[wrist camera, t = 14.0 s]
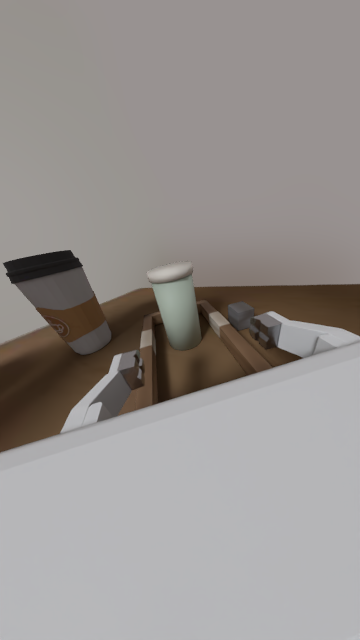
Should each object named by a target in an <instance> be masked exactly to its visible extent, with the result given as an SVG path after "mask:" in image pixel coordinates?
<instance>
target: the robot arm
mask: <svg viewBox="0 0 360 640" xmlns="http://www.w3.org/2000/svg"><path fill="white" fill-rule="evenodd" d="M250 324H251V326H250V328H249V332H250V335H251V337H252V338H253V339H254V340H256V341H259V344H260V345H261V346H262V347H263V348H264V349H265V350H267V349H270V348H274V347H278V348H281V349H283V350H286V351H288V352H291V353H293V354H296V355H298V356H300V357H303V359H300V360H297V361H294V362H290V363H287V364H284V365H281V366H277V367H274V368H271V369H268V370H264V371H261V372H258V373H255V374H252V375H248V376H245V377H242V378H239V379H235V380H232V381H229V382H226V383H222V384H219V385H216V386H213V387H210V388H206V389H203V390H200V391H197V392H193V393H190V394H187V395H184V396H181V397H177V398H174V399H171V400H168V401H164V402H161V403H158V404H155V405H152V406H148V407H145V408H142V409H139V410H135V411H132V412H129V413H126V414H123V415H119V416H117V415H118V414H119V412H120V410H121V408H122V407H123V405H124V403H125V402H126V400H127V398H128V396H129V395H130V393H131V390H134V389H137V388H140V387H143V386H145V377H144V375H143V374H144V373H145V364H144V361H143V359H142V358H140V352H139V350H133V351H129V352H125V353H122V354H118V355H115V356H114V358H113V361H112V364H111V367H110V370H109V373H108V374H107V375H105V376H104V377H103V378H102V379H101V380H100V381H99V382H98V383H97V384H96V385H95V386H94V387H93V388H92V389H91V390H90V391H89V392H88V394H87V395H86V396H85V397H84V398H83V399H82V400H81V401H80V402H79V403H78V404H77V405H76V406H75V407H74V408H73V409H72V410H71V412H70V414H69V416H68V418H67V420H66V422H65V424H64V427H63V429H62V431H61V433H60V434H58V435H55V436H52V437H48V438H45V439H42V440H39V441H35V442H32V443H29V444H26V445H23V446H19V447H16V448H13V449H10V450H6V451H3V452H0V640H360V336H357V335H355V334H353V333H350V332H348V331H346V330H344V329H341V328H335V327H329V326H323V325H317V324H311V323H305V322H299V321H290V320H288V319H286V318H284V317H282V316H280V315H279V314H277V313H275V312H272V311H270V312H267V313H264V314H261V315H258V316H254V317H251V318H250Z"/></svg>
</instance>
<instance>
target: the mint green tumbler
mask: <svg viewBox="0 0 360 640" xmlns="http://www.w3.org/2000/svg"><path fill="white" fill-rule="evenodd" d="M192 272H193V268H192V262H190V261H184V262H175V263H171V264H166V265H162V266H159V267H156V268H153V269H151V270H149V271H147V276H148V279H149V282H151V283H152V287H153V290H154V293H155V297H156V300H157V303H158V306H159V310H160V313H161V316H162V320H163V323H164V326H165V330H166V333H167V336H168V340H169V343H170V346H171V347H172V348H174V349H176V350H189V349H192V348H194V347H196V346H197V345H198V344H199V343H200V342H201V339H202V337H201V330H200V324H199V318H198V311H197V305H196V298H195V292H194V286H193V279H192Z"/></svg>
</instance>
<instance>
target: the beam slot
mask: <svg viewBox="0 0 360 640" xmlns="http://www.w3.org/2000/svg"><path fill="white" fill-rule="evenodd" d="M196 305H197V311H198V313H202V314H203V316H204V317H205V318H206V320H207V321H208V322H209V324H210V326H211V327H212V328H213V330H214V331H215V332H216V334H217V335H218V336H219V338H220V339H221V340H222V341H223V343H224V344H225V345H226V347H227V348H228V349H229V351H230V352H231V354H232V355H233V356H234V358H235V359H236V360H237V362H238V363H239V364H240V366H241V367H242V368H243V370H244V371H245V372H246V374H247V375H252V374H255V373H258V372H261V371H264V370H268V369H271V368H273V367H272V366H271V365H270V364H269V363H268V362H267V361H266V360H265V359H264V358H263V357H262V356H261V355H260V354H259V353H258V352H257V351H256V350H255V349H254V348H253V347H252V346H251V345H250V344H249V343H248V342H247V341H246V340H245V339H244V338H243V337H242V336H241V335H240V334H239V333H238V332H237V331H236V330H235V329H234V328H233V327H232V326H231V325H230V323H231V324H232V325H233V326H234V327H235V328H236V329H237V330H238V331H239V330H242V329H246V328H250V326H251V324H250V318H251V317H254V308H252V307H251V306H249V305H248V304H246V303H244V302H243V301H241V302H238V303H234V304H230V305H228V319H229V322H230V323H229V322H228V321H227V320H226V319H225V318H224V317H223V316H222V315H221V314H220V313H219V312H218V311H216V310H215V309H214V308H213V307H212V306H211V305H210V304H209V303H208V302H207V301H206V300H202V301H198V302H196ZM161 323H163V320H162V316H161V313H160V312H156V313H152V314H148V315H144V320H143V331H142V335H141V345H140V349H141V351H140V358H142V359H143V361H144V364H145V373H144V374H143V375H144V377H145V386H143V387H140V388H137V392H136V402H135V410H139V409H142V408H145V407H148V406H152V405H155V404H158V389H157V367H156V339H155V325H157V324H161Z"/></svg>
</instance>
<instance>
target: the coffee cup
mask: <svg viewBox="0 0 360 640" xmlns="http://www.w3.org/2000/svg"><path fill="white" fill-rule="evenodd" d="M3 264H4V266H5V268H6V269H7V271H8V273H6V275H7V276H8V277H9V278H10V281H11V283H12V284H15V285H16V286H17V287H18V288H19V290H20V291H21V292H22V293H23V294H24V295H25V296H26V297H27V299H28V300H29V301H30V302H31V303H32V304H33V305H34V306H35V308H36V310H37V311H38V312H39V313H40V314H41V315H42V317H43V318H44V319H45V320H46V321H47V322H48V323H49V324H50V325H51V326H52V328H53V329H54V330H55V331H56V332H57V333H58V334H59V335H60V336H61V338H62V339H63V340H64V341H65V342H67V343H68V344H69V346H70V347H71V348H72V349H73V350H74V351H75V352H76V353H79V354H81V355H86V354H90V353H93V352H95V351H98V350H99V349H101V348H103V347H104V346H105V345H107V344H108V343H109V341H110V340H111V331H110V329H109V327H108V325H107V322H106V319H105V317H104V314H103V312H102V310H101V307H100V305H99V303H98V301H97V298H96V296H95V294H94V291H92V288H91V286H90V284H89V282H88V279H87V277H86V275H85V273H84V270H83V268H82V266H83V265H82V264H81V263H80V262H79V259H78V258H75V257H74V255H73V253H72V252H71V250H67V251H59V252H52V253H46V254H41V255H35V256H30V257H25V258H20V259H16V260H12V261H8V262H5V263H3Z"/></svg>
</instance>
